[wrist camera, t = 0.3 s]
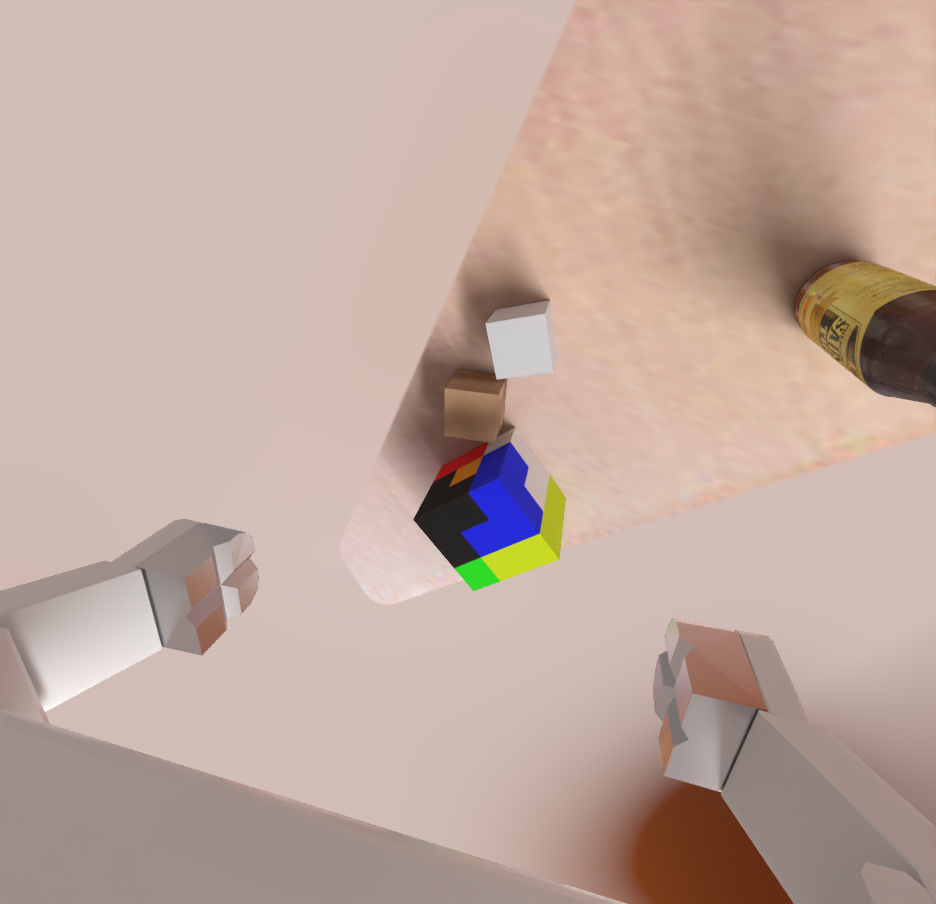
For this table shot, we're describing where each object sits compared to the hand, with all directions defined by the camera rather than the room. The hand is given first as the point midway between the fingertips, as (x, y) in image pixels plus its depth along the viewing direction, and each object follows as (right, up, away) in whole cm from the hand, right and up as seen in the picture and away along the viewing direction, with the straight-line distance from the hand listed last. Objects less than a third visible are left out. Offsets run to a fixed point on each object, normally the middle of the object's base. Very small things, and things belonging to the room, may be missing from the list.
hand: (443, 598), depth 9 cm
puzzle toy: (+4, 0, +45) cm, 45 cm away
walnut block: (+2, +9, +40) cm, 41 cm away
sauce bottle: (+29, +15, +29) cm, 44 cm away
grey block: (+6, +14, +36) cm, 39 cm away
